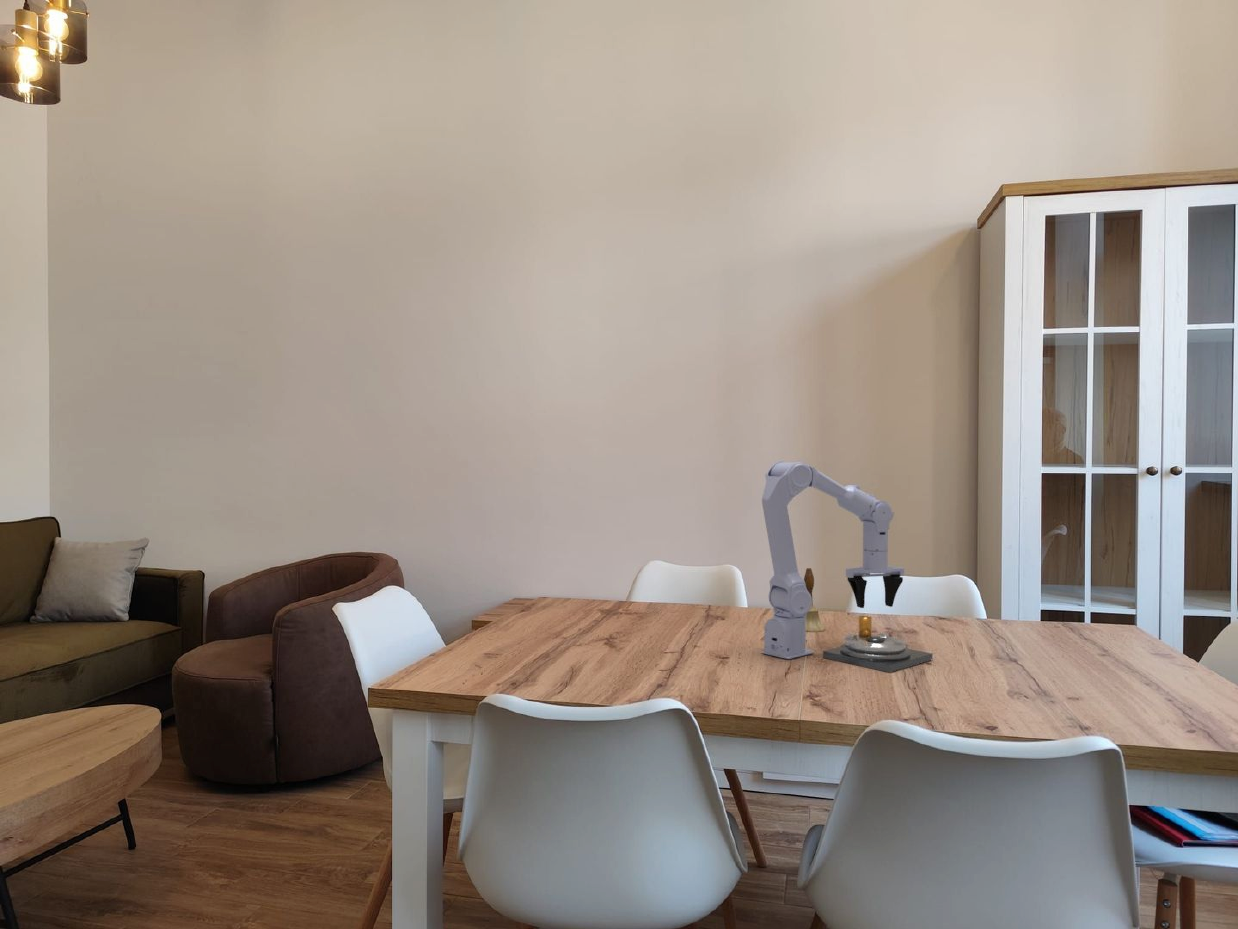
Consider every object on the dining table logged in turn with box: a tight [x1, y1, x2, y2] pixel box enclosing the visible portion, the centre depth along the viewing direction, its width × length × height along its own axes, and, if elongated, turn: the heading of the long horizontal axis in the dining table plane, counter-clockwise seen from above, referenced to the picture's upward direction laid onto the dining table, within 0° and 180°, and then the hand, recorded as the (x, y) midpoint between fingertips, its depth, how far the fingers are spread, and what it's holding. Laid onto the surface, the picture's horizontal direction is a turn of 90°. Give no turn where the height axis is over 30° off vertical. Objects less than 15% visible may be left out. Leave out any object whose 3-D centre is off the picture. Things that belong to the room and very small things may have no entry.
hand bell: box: [803, 567, 826, 633], centre depth 223 cm, size 8×8×16 cm
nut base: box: [822, 642, 933, 674], centre depth 190 cm, size 17×17×3 cm
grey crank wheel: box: [844, 615, 907, 654], centre depth 189 cm, size 13×13×6 cm
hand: (874, 606), depth 203 cm, fingers open, 7 cm apart
